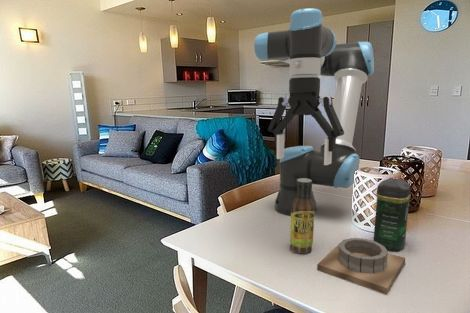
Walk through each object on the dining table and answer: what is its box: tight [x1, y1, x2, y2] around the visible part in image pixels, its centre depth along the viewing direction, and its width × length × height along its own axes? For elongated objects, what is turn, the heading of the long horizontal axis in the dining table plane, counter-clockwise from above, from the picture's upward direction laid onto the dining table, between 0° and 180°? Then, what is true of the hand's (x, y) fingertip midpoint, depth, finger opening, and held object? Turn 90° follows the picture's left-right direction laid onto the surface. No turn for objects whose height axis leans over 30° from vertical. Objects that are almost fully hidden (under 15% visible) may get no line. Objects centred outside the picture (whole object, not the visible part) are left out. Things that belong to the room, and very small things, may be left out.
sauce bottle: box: [289, 178, 315, 254], centre depth 87 cm, size 6×6×20 cm
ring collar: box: [316, 237, 406, 295], centre depth 80 cm, size 16×16×5 cm
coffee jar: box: [372, 177, 411, 251], centre depth 90 cm, size 10×8×19 cm
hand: (302, 161), depth 84 cm, fingers open, 13 cm apart
